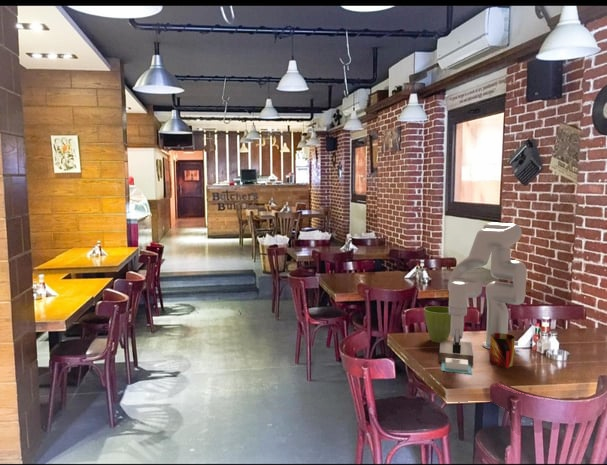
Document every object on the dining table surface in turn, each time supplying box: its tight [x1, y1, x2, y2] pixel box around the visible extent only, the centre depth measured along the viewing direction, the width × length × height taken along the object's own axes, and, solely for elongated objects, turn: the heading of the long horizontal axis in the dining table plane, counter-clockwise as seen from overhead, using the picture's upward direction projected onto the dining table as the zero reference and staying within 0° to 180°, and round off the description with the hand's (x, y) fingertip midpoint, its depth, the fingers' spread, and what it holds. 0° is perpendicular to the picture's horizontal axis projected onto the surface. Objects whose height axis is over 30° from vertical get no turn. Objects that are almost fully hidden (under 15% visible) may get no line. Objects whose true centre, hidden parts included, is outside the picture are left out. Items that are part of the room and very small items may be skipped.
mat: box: [440, 361, 473, 375], centre depth 210 cm, size 12×12×1 cm
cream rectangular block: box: [445, 358, 468, 370], centre depth 210 cm, size 9×6×2 cm, turn 74°
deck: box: [438, 339, 474, 366], centre depth 225 cm, size 14×20×4 cm
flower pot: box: [423, 305, 451, 344], centre depth 248 cm, size 15×15×16 cm
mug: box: [489, 333, 516, 369], centre depth 214 cm, size 10×14×12 cm
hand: (456, 352), depth 213 cm, fingers closed
